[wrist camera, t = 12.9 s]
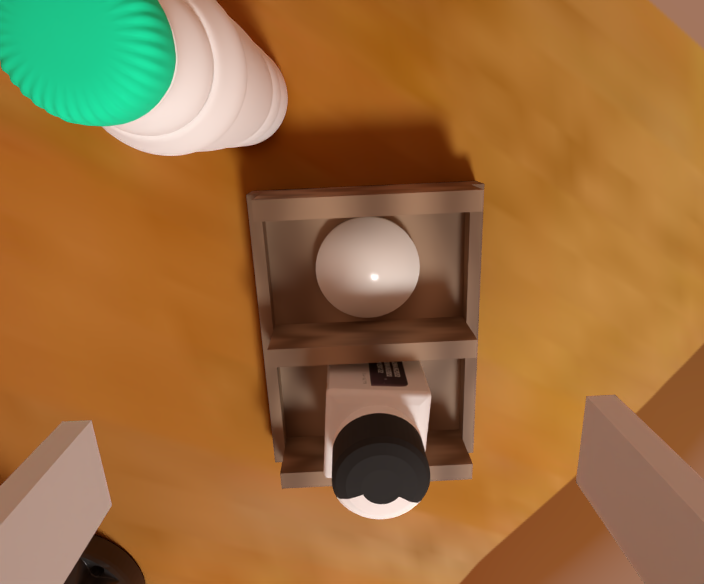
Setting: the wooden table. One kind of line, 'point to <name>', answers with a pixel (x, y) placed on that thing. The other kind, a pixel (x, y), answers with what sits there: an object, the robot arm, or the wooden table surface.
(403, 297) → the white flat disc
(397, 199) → the rack
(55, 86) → the water bottle
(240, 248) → the wooden table surface
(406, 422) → the container
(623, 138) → the wooden table surface
